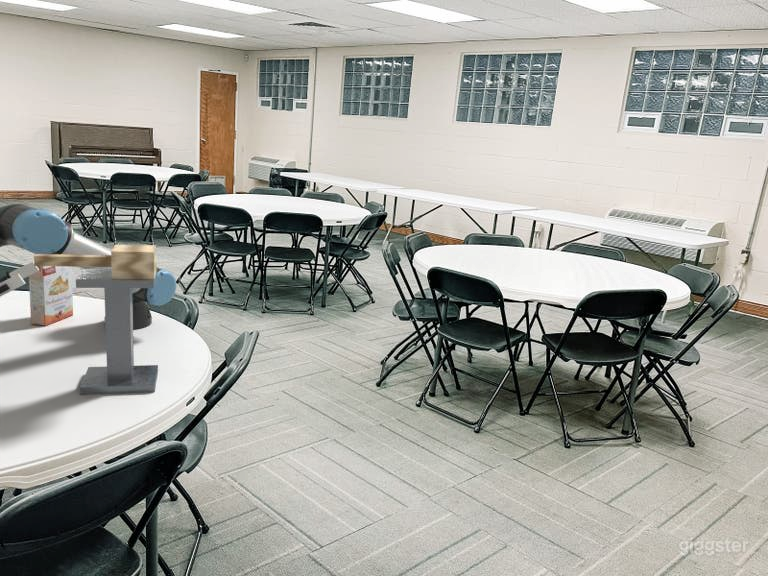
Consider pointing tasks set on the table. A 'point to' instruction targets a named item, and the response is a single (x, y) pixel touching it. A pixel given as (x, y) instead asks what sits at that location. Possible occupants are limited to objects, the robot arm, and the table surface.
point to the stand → (117, 337)
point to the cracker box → (51, 294)
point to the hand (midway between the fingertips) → (29, 272)
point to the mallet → (110, 261)
